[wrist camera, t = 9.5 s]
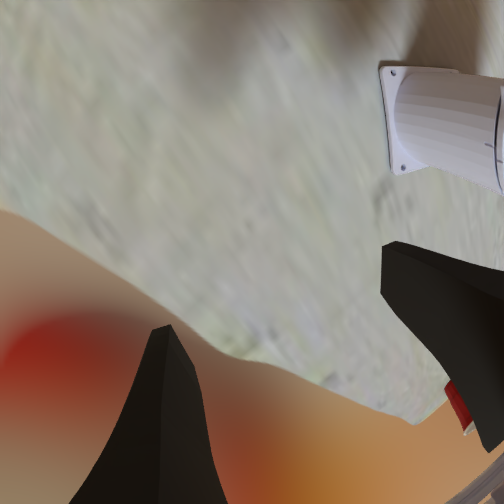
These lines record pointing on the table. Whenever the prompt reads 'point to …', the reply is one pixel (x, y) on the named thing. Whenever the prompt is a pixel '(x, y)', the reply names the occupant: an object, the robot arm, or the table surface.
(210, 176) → the table surface
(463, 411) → the plastic cup
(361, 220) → the table surface
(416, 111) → the robot arm
